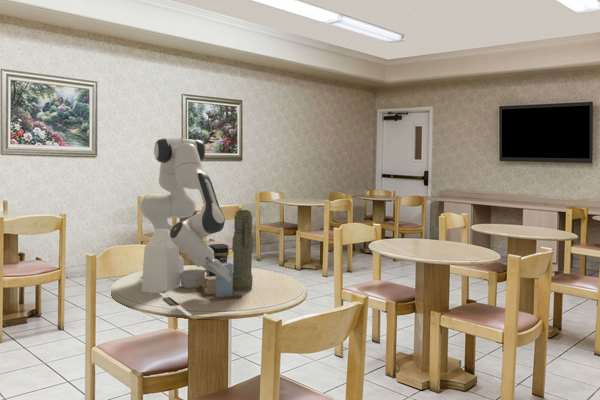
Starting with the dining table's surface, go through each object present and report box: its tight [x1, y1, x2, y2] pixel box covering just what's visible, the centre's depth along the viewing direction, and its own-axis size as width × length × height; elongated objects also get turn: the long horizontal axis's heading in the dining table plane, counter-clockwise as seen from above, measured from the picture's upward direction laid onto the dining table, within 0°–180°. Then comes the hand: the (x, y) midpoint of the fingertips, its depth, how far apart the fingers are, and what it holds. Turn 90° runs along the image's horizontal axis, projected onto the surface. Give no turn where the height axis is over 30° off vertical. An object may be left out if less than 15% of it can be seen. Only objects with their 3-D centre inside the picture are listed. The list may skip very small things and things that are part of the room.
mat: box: [162, 296, 180, 306], centre depth 209 cm, size 10×10×1 cm
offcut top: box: [204, 276, 216, 287], centre depth 220 cm, size 5×9×3 cm, turn 121°
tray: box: [195, 287, 243, 302], centre depth 216 cm, size 18×13×2 cm
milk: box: [141, 229, 181, 295], centre depth 225 cm, size 12×12×26 cm
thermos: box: [232, 209, 254, 292], centre depth 226 cm, size 9×12×35 cm
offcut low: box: [202, 284, 215, 294], centre depth 220 cm, size 5×10×3 cm, turn 121°
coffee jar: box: [207, 243, 230, 277], centre depth 238 cm, size 10×8×19 cm
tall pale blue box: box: [215, 262, 234, 297], centre depth 213 cm, size 4×6×13 cm, turn 121°
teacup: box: [180, 268, 209, 290], centre depth 230 cm, size 14×11×8 cm
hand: (225, 278), depth 213 cm, fingers open, 8 cm apart
